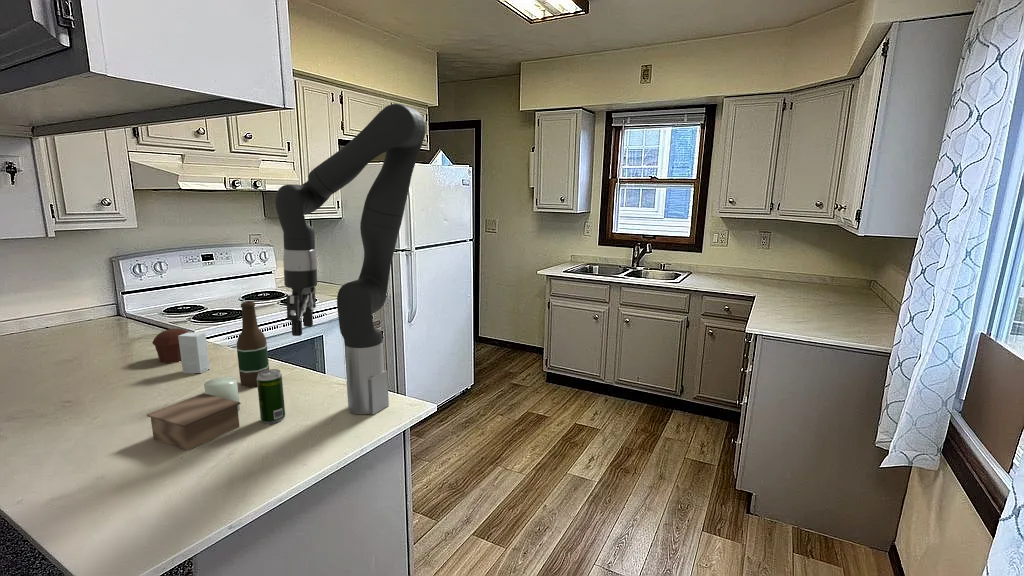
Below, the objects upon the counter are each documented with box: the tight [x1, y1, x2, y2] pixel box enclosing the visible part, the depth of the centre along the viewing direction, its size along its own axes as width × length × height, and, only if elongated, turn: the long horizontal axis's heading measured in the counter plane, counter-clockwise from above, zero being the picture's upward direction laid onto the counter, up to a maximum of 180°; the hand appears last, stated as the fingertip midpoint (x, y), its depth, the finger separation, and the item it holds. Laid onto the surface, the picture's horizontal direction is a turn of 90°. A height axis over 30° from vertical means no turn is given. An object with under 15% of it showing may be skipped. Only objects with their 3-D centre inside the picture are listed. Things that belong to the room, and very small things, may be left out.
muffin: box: [151, 328, 191, 364], centre depth 162 cm, size 12×11×10 cm
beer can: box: [257, 368, 286, 425], centre depth 117 cm, size 5×5×12 cm
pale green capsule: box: [203, 376, 241, 412], centre depth 122 cm, size 7×7×8 cm
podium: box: [146, 392, 241, 451], centre depth 111 cm, size 13×13×6 cm
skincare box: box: [178, 331, 211, 374], centre depth 150 cm, size 6×4×12 cm
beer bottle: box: [236, 300, 270, 388], centre depth 140 cm, size 8×8×24 cm
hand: (302, 330), depth 123 cm, fingers open, 8 cm apart
